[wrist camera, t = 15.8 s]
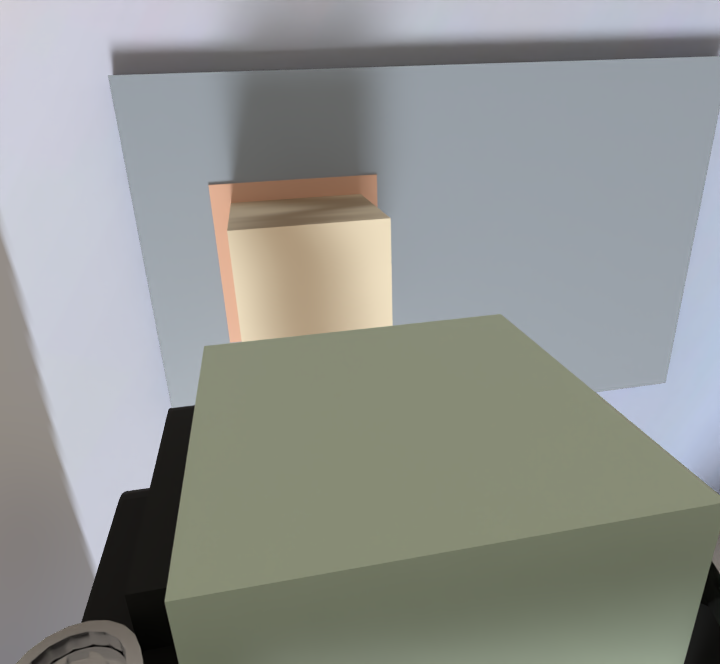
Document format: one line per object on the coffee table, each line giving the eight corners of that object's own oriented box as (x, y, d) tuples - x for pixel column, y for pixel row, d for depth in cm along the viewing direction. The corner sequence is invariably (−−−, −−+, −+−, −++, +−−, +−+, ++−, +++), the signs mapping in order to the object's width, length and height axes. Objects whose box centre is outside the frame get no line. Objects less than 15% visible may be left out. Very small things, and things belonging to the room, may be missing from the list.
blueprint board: (715, 57, 24) (731, 55, 23) (654, 375, 29) (666, 383, 29) (113, 76, 20) (107, 75, 19) (181, 437, 26) (179, 449, 25)
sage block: (501, 314, 10) (727, 502, 5) (486, 538, 12) (641, 818, 7) (204, 345, 9) (164, 601, 4) (241, 582, 11) (241, 929, 6)
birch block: (360, 193, 22) (390, 218, 17) (364, 313, 24) (393, 362, 19) (230, 202, 21) (226, 230, 17) (246, 325, 23) (246, 380, 19)
